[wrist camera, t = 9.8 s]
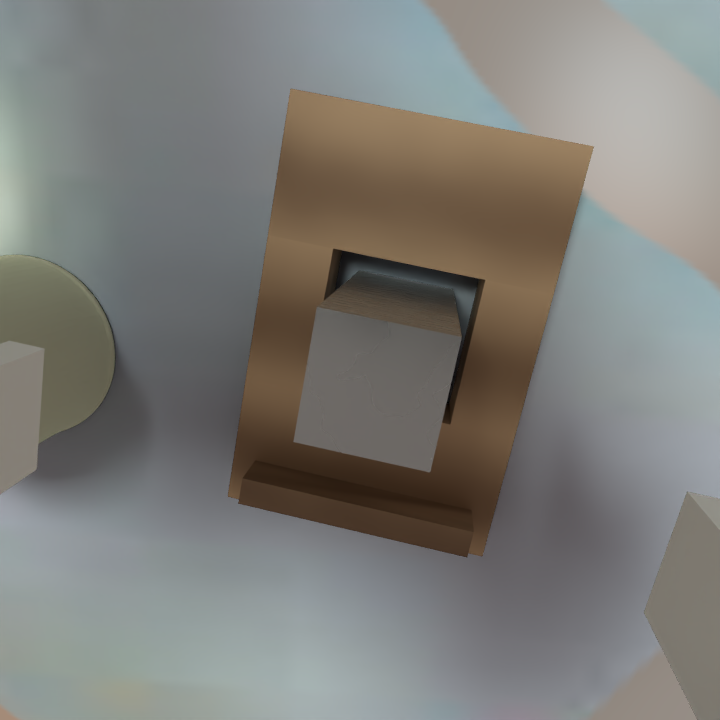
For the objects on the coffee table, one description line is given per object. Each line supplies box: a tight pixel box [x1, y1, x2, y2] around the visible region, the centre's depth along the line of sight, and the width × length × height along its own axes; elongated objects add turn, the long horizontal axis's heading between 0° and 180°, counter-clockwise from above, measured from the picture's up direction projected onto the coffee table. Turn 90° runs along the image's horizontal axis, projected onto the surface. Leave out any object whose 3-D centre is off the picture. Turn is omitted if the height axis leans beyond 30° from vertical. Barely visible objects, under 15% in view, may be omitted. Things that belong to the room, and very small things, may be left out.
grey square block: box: [293, 270, 462, 472], centre depth 25 cm, size 4×4×11 cm
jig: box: [228, 89, 594, 557], centre depth 28 cm, size 18×12×5 cm, turn 169°
